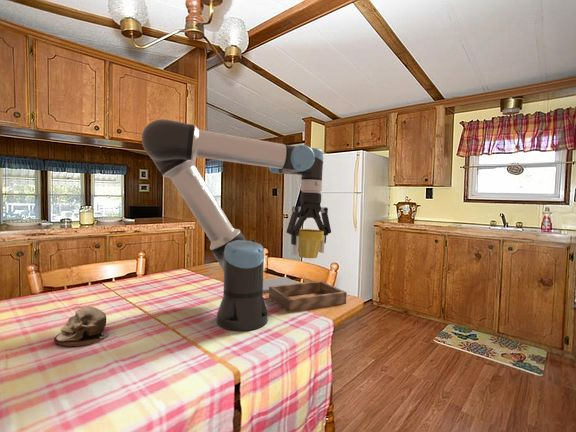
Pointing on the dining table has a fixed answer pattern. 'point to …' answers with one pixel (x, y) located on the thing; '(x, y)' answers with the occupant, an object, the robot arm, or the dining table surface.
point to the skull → (83, 328)
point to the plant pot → (309, 242)
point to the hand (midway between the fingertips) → (308, 253)
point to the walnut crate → (296, 304)
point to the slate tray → (276, 283)
